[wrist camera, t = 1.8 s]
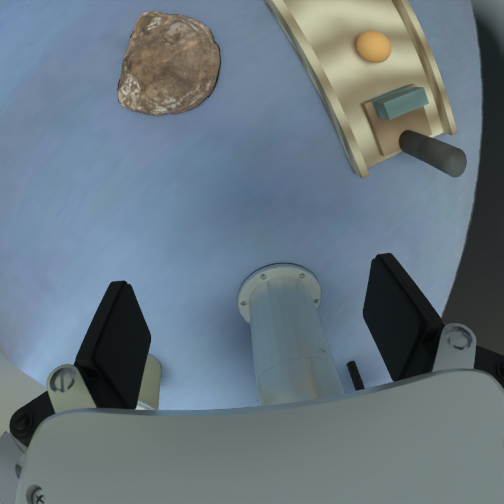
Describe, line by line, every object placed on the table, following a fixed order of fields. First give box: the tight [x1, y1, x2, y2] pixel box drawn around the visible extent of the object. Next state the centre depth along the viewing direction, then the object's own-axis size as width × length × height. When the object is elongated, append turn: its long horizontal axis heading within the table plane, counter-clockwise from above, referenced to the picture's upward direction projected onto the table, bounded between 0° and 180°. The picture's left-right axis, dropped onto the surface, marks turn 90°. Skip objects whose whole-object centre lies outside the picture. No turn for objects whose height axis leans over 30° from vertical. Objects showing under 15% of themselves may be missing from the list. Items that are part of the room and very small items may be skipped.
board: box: [264, 0, 457, 179], centre depth 23 cm, size 30×16×8 cm, turn 29°
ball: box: [356, 31, 391, 63], centre depth 24 cm, size 4×4×4 cm
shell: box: [117, 11, 221, 116], centre depth 26 cm, size 12×13×4 cm
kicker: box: [361, 84, 467, 177], centre depth 26 cm, size 8×8×11 cm
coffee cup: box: [136, 354, 161, 410], centre depth 47 cm, size 9×9×12 cm
